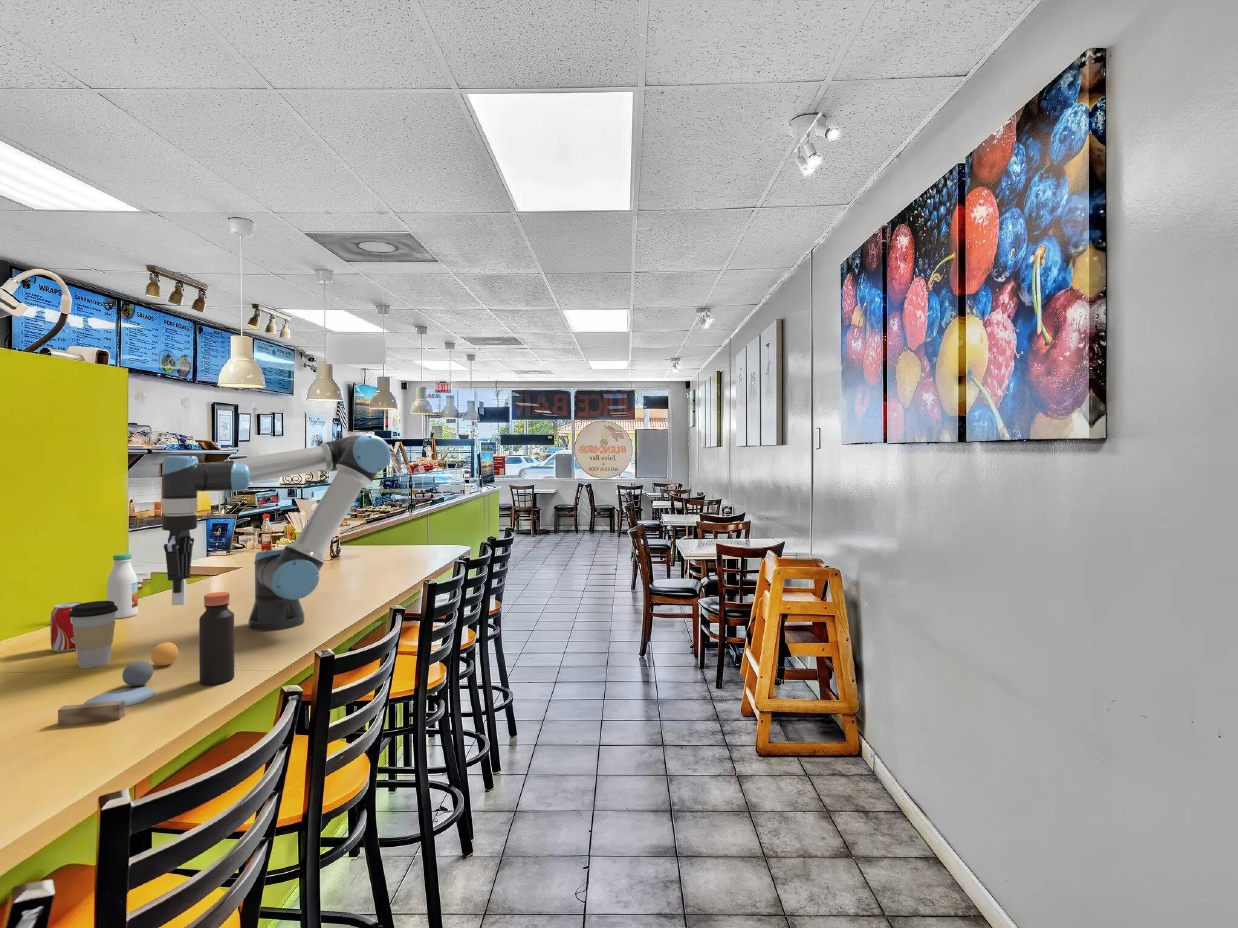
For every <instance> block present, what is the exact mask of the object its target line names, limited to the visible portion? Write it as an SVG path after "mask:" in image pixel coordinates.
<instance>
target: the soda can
mask: <svg viewBox="0 0 1238 928" xmlns="http://www.w3.org/2000/svg"><path fill="white" fill-rule="evenodd" d="M82 603H83V602H80V601H72V602H64V603H63V602H62V603H58V604H55V605H54V606H53V609H52V611H51V612H50V620H49V621H50V622H49V623H50V626H49V627H50V628H49V629H50V632H49V633H50V634H49V635H50V636H49V637H50V647H51V651H55V652H56V653H67V652H68V651H69V652H73V651H72V650H74V651H77V650H76V647H75V640H74V632H73V619H72V617H69V616H68V615H69V612H70V611H71V610H72V607H73V606H75V605H78V604H82ZM69 652H68V653H69Z"/></svg>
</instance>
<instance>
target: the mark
mask: <svg viewBox="0 0 1238 928" xmlns="http://www.w3.org/2000/svg"><path fill="white" fill-rule="evenodd" d="M155 695H156V690H155V689H153V688H150V687H130V688H122V689H117V690H112V691H108V692H105V693H102V694H99V695H96V696H93V697H90V698H89V699H87V700H86V701H85V702H83V704H91V703H102V702H114V701H124V704H125V708H126V707H127V708H128V707H130V706H134V705H136V704H137V705H138V704H140V703H142V702H143V703H144V702H145V701H147V700H149V699H151V698H152V697H154V696H155Z"/></svg>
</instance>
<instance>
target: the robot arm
mask: <svg viewBox="0 0 1238 928" xmlns="http://www.w3.org/2000/svg"><path fill="white" fill-rule="evenodd" d="M391 456H392V453H391V449H390V446H389V444H388V442H386V441H385V439H383V438H382V437H380V436H378V435H373V434H369V433H368V434H363V435H357V434H356V435H350V436H344V437H342V438H339V439H335V440H330V441H325V442H321V443H320V444H319V446H313V447H307V448H301V449H295V450H288V451H287V450H286V451H280V452H275V453H268V454H261V455H255V456H249V457H241V458H236V459H230V460H222V461H216V462H213V461H209V462H206V463H202V462H199V460H198V457H197V456H195V455H167V456H165V457H164V458H163V460H162V472H161V487H162V489H161V490H162V491H161V493H162V494H161V496H162V497H161V498H162V500H161V501H160V503H159V504H160V505H161V508H162V509H161V510H162V511H161V513H162V514H163V516H161V529H162V530H163V531H166V532H167V531H168V533H169V534H168V538H167V543H164V544H163V550H164V553H165V562H166V572H167V581H169V582H170V581H171V606H185V605H186V604H187V579H191V575H190V574H191V567H192V565H191V564H192V556H193V546H194V543H195V538H194V537H191V533H190V531H191V530H195V529H197V528H198V515H197V514H196V513H197V512H198V492H232V491H233V492H237V491H246V490H247V489H248V488H249V485H250V483H254V482H255V483H256V482H260V481H267V480H273V479H278V478H284V477H289V476H290V477H291V476H294V475H296V476H297V475H301V474H306V473H312V472H319V471H325V472H328V473H329V472H336V471H337V473H336V474H335V476H334V478H333V479H332V481H331V482H330V485H328V488H327V489H326V491H325V492H324V494H323V495H322V497H321V498H320V500H319V502H318V504H317V505H316V507H315V508H314V510H313V512H312V514H311V515H310V517H309V518H308V519H307V521H306V523H305V525H304V526H303V527H302V529H301V531H300V533H299V534H298V536H297V538H296V539H295V541H294V542H292V543H288V544H285V545H284V548H282V549H271V550H261V551H257V552H256V553H255V556H254V562H253V564H254V602H253V606H252V609H251V612H250V615H249V618H248V622H247V623H248V624H247V625H248V628H249V629H250V630H252V631H253V630H254V631H274V630H275V631H276V630H283V629H288V628H293V627H296V626H300V625H301V624H303V623H305V611H304V610H303V607H302V604H301V602H300V600H301V599H303V598H305V597H307V596H309V595H310V594H312V593H313V591H315V590H316V588H317V587H318V585H319V581H320V571H321V569H322V567H323V565H324V564H325V559H324V553H325V552H326V550H327V548H328V547H329V545H330V543H331V541H332V540H333V538H334V536H335V535H336V533H337V532H338V531H339V528H340V526H341V525H342V523H343V522H344V520H345V518H346V517H347V515H348V513H349V512H350V509H351V508H352V506H353V505H354V503H355V501H356V499H357V498H358V496H359V495H360V493H361V491H362V489H363V488H364V486H366V485H371V484H372V482H373V481H374V479H375V477H376V476H377V473H381V472H382V471H383V470H385V469H386V468H387V466H388V465H389V464H390V461H391Z"/></svg>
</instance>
